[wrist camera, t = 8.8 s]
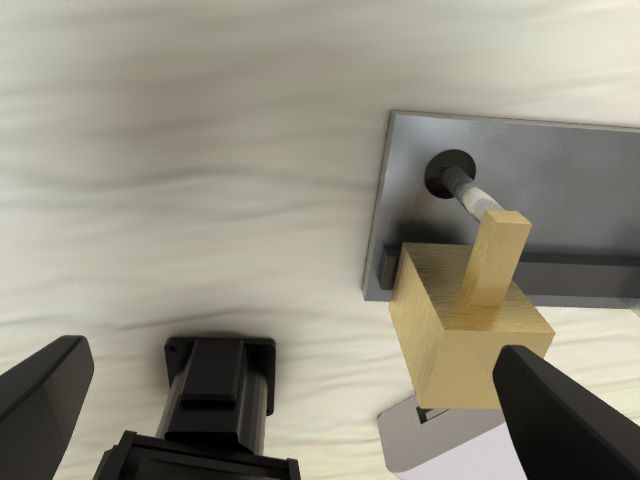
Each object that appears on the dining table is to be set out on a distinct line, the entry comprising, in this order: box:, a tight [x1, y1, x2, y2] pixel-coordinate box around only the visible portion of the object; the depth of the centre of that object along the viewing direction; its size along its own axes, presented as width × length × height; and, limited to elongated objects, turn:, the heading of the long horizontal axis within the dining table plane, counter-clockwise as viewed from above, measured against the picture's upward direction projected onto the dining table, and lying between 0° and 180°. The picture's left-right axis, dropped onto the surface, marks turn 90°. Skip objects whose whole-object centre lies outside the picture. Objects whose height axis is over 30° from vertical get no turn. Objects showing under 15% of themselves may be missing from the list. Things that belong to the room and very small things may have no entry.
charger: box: [378, 394, 527, 480], centre depth 28 cm, size 5×9×15 cm
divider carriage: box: [389, 166, 555, 409], centre depth 17 cm, size 8×4×7 cm, turn 175°
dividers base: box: [362, 110, 640, 317], centre depth 20 cm, size 10×20×4 cm, turn 85°
